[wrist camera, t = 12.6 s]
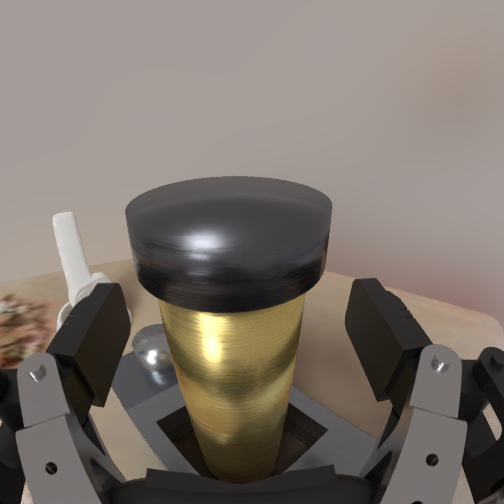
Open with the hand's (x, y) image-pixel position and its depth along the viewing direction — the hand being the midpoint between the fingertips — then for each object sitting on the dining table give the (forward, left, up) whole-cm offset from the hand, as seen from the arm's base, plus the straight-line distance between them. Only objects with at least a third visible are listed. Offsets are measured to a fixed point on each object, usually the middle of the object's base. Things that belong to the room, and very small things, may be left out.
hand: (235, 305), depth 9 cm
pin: (+1, -1, -10) cm, 10 cm away
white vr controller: (-16, -4, -10) cm, 20 cm away
